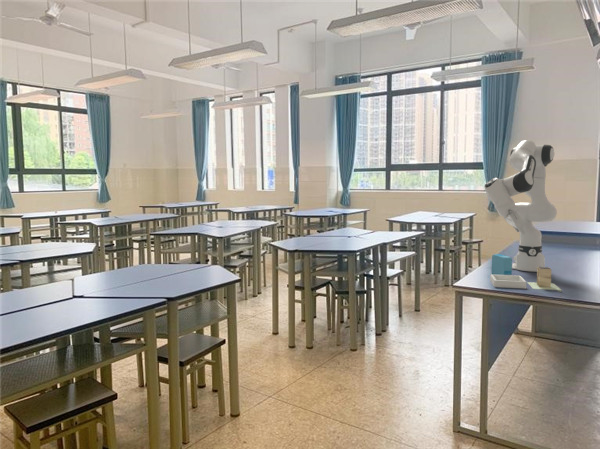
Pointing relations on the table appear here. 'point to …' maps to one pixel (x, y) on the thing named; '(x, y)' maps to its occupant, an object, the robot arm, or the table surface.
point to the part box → (543, 276)
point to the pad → (553, 287)
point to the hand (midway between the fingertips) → (521, 232)
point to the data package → (501, 265)
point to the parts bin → (507, 281)
